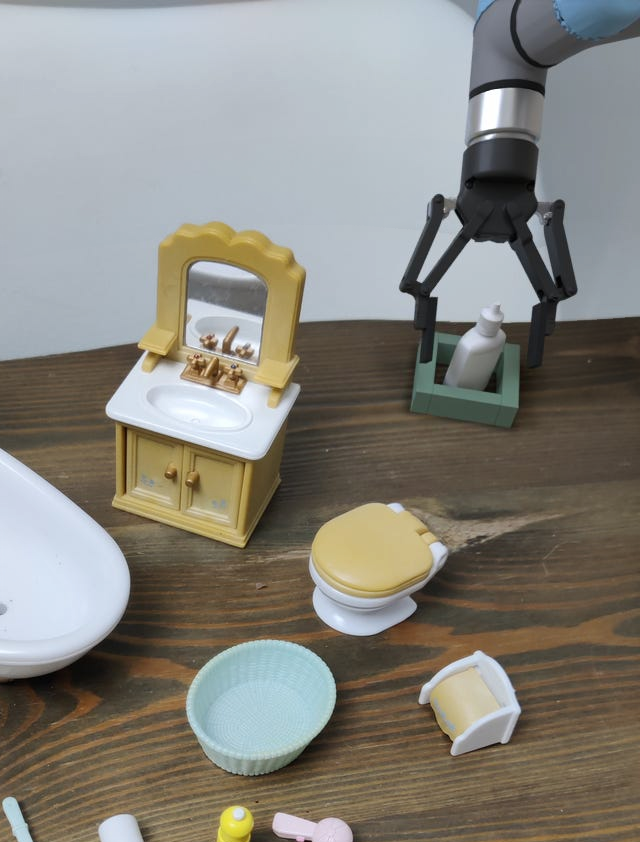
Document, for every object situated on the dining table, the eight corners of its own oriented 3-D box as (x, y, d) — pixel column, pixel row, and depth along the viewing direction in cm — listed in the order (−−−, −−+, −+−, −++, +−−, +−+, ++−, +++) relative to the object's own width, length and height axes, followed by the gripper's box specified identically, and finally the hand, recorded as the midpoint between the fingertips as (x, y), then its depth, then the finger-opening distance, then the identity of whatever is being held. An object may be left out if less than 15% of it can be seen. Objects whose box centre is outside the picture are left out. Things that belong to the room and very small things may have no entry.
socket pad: (511, 369, 114) (520, 344, 112) (508, 432, 108) (518, 407, 105) (416, 354, 116) (423, 329, 113) (408, 415, 110) (416, 391, 107)
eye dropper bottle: (490, 405, 111) (528, 316, 101) (441, 404, 111) (475, 315, 101) (481, 379, 113) (518, 290, 103) (434, 378, 113) (466, 289, 103)
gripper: (599, 163, 105) (575, 373, 109) (381, 153, 106) (364, 363, 109) (630, 139, 98) (603, 365, 101) (396, 129, 98) (377, 354, 102)
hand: (479, 364), depth 105 cm, fingers open, 11 cm apart
